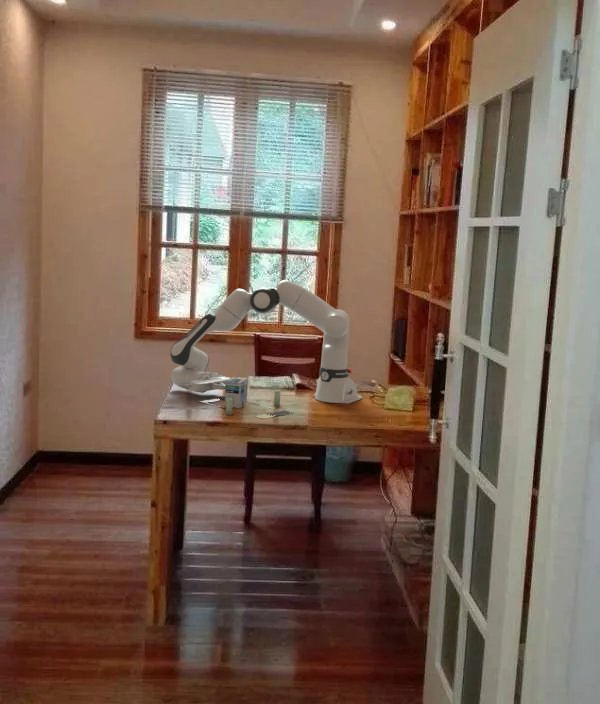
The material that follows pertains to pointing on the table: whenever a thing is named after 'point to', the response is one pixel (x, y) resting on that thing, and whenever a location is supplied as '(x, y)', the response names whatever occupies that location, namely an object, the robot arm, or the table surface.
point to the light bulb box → (237, 391)
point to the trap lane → (276, 402)
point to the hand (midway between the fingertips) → (224, 387)
